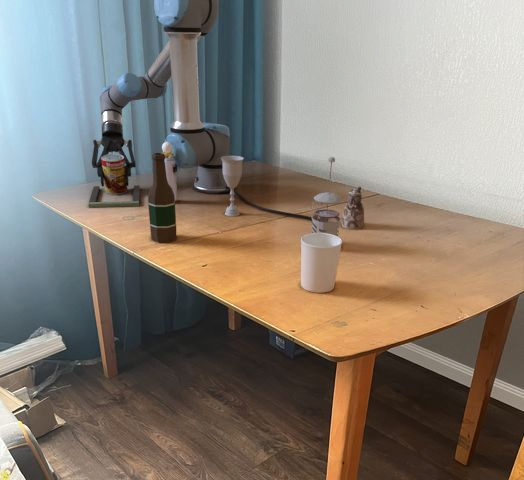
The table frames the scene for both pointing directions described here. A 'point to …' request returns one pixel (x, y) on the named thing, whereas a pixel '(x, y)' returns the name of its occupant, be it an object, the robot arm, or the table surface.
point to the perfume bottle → (170, 166)
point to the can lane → (94, 202)
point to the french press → (326, 211)
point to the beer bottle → (161, 203)
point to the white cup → (319, 261)
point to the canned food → (114, 173)
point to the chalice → (232, 179)
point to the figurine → (353, 210)
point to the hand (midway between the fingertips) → (114, 184)
